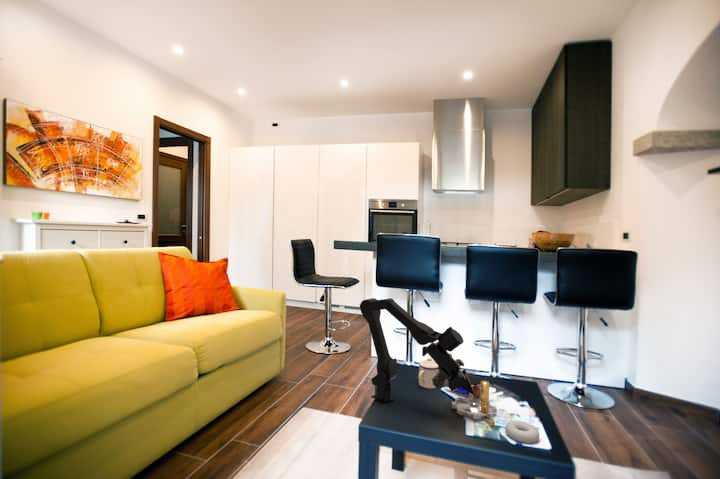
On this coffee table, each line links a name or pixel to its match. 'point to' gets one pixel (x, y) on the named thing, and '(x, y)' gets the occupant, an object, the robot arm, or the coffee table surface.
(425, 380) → the teacup with lid
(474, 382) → the figurine character
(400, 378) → the coffee table surface
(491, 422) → the timing mark
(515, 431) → the donut
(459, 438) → the coffee table surface
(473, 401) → the sprocket wheel
